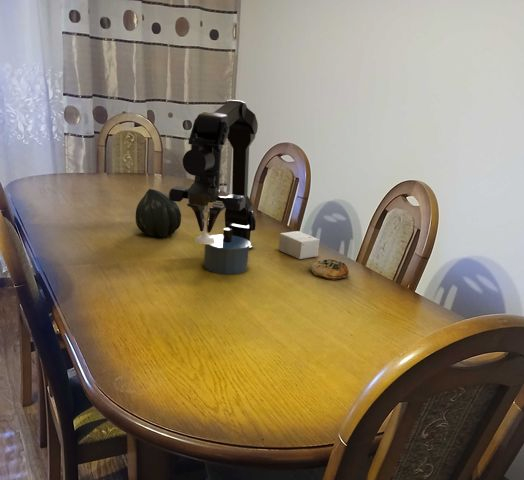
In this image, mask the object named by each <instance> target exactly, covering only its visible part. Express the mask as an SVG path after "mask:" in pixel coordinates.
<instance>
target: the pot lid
mask: <svg viewBox="0 0 524 480" xmlns="http://www.w3.org/2000/svg"><path fill="white" fill-rule="evenodd" d="M209 237H212V238H213V239H214V243H213V244H206V245H207V246H209V247H212V248H216V249H221V250H243V249H247V248H249V247H250V246H252V244H251V243H252V242H251V240H250V241H248V240H247V239H245V238H242V237H238V236H233V235H232V229H231V228H229V227H224V228H223V234H211V235H210V236H209Z"/></svg>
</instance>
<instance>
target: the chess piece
mask: <svg viewBox="0 0 524 480" xmlns="http://www.w3.org/2000/svg"><path fill="white" fill-rule="evenodd" d="M203 215H204V219H202V221H204V227H203V231H201V232H202V233H201V234H200V235H199V236H196V237H195V242H196V243H197V244H200V245H205V244H213V243H214V239H213V238H212V237H209V236H211V235H210V234H209V233H208V223H209V216H210V211H209V204H208V205H207V206H205V210H203Z"/></svg>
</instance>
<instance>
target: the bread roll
mask: <svg viewBox="0 0 524 480" xmlns="http://www.w3.org/2000/svg"><path fill="white" fill-rule="evenodd" d="M310 271H311V272H312V273H313V275H314V276H318V277H322V278H325V279H328V280H332V281H338V280H340V279H345V278H347V277H348V276H349V268H348V266H347V265H346V263H345V262H342V261H341V260H336V259H332V258H331V259H329V258H328V259H326V258H325V259H322V260H316V261H315V262H314V263H312V264H311V269H310Z"/></svg>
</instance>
